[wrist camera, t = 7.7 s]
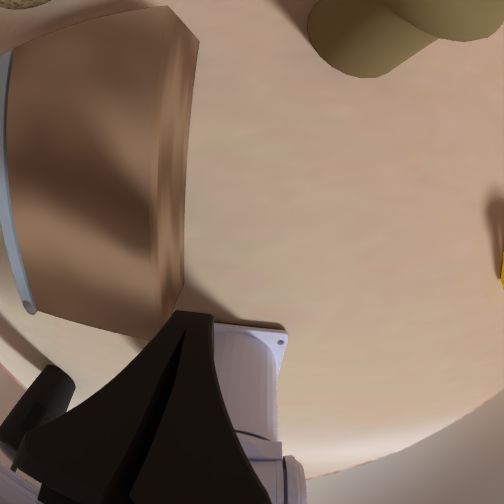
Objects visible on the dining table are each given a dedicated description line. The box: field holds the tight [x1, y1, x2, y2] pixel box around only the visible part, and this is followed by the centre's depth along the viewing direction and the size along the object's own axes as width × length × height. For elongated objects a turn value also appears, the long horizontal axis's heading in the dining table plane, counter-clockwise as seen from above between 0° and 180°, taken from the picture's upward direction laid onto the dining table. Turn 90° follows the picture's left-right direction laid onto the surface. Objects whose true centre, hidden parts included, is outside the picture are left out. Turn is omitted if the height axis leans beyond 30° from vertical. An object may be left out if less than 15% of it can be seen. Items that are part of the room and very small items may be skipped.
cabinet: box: [6, 6, 199, 340], centre depth 13 cm, size 16×9×6 cm, turn 174°
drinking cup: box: [0, 365, 75, 472], centre depth 18 cm, size 8×8×20 cm
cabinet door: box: [0, 50, 37, 315], centre depth 13 cm, size 17×3×6 cm, turn 174°
